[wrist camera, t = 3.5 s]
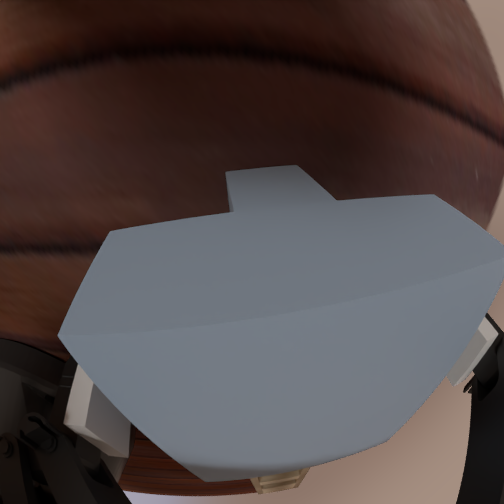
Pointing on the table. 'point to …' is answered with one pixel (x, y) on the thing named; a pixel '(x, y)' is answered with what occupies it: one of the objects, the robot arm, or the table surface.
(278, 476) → the rail
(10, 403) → the robot arm
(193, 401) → the grey plastic block
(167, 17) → the table surface
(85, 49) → the table surface
